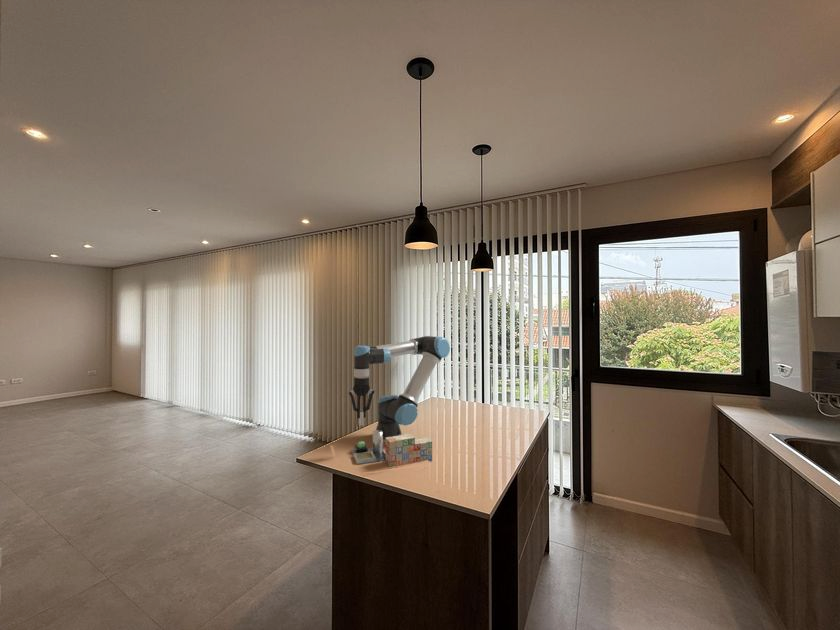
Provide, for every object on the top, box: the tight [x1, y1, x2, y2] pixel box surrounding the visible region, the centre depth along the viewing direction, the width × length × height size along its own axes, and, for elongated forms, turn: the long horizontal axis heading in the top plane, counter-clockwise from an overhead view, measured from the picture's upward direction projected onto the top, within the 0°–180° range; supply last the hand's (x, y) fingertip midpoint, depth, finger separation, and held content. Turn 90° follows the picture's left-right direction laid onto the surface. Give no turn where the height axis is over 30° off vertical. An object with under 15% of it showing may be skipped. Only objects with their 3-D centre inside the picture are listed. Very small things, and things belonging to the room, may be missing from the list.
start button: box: [356, 440, 366, 449], centre depth 167 cm, size 4×4×3 cm
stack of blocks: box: [384, 433, 433, 469], centre depth 158 cm, size 21×6×12 cm, turn 114°
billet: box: [372, 429, 384, 454], centre depth 167 cm, size 5×5×10 cm
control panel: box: [350, 443, 385, 466], centre depth 163 cm, size 15×19×4 cm
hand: (361, 424), depth 168 cm, fingers closed
